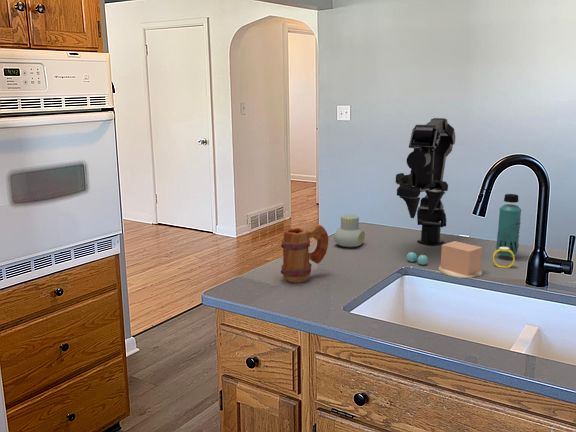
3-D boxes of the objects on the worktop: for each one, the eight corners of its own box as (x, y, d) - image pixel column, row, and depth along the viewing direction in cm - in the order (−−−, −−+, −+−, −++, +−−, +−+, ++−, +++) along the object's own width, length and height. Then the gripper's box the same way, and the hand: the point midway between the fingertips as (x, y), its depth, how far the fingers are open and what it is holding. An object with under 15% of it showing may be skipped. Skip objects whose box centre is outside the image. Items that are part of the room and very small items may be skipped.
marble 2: (421, 262, 175) (421, 252, 175) (429, 264, 173) (430, 255, 172) (415, 264, 173) (415, 254, 173) (423, 266, 171) (423, 257, 171)
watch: (492, 268, 171) (492, 248, 169) (492, 265, 173) (492, 246, 172) (514, 269, 169) (514, 249, 167) (514, 266, 171) (514, 246, 170)
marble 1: (410, 259, 178) (411, 250, 178) (418, 261, 176) (419, 252, 175) (404, 261, 176) (404, 251, 176) (412, 263, 174) (412, 254, 173)
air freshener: (355, 251, 188) (356, 221, 185) (331, 248, 191) (332, 218, 189) (366, 242, 197) (367, 214, 195) (343, 240, 201) (343, 211, 198)
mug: (287, 287, 155) (287, 232, 151) (274, 278, 162) (273, 226, 158) (334, 278, 161) (335, 226, 158) (319, 270, 168) (319, 220, 165)
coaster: (454, 262, 175) (454, 260, 175) (490, 271, 166) (490, 270, 166) (430, 270, 168) (430, 268, 168) (466, 281, 159) (466, 279, 159)
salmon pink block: (453, 263, 172) (454, 241, 171) (480, 270, 166) (482, 247, 164) (440, 268, 168) (441, 244, 167) (467, 275, 162) (469, 251, 160)
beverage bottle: (494, 259, 178) (499, 195, 173) (495, 253, 184) (500, 191, 179) (517, 262, 175) (523, 197, 171) (517, 256, 181) (523, 193, 177)
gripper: (421, 160, 189) (418, 207, 193) (383, 166, 177) (381, 216, 181) (450, 164, 181) (447, 213, 184) (413, 170, 169) (410, 222, 172)
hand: (421, 215), depth 181 cm, fingers open, 9 cm apart
